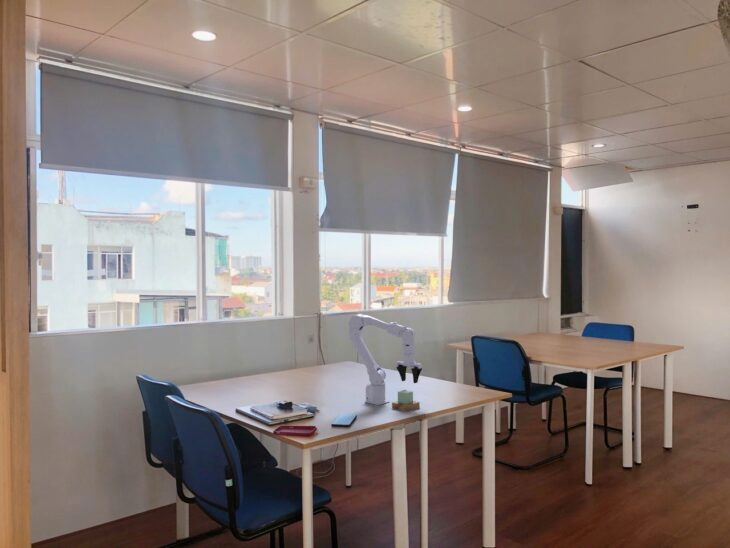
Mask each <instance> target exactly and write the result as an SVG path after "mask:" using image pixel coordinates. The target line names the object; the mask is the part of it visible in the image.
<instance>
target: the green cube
mask: <svg viewBox="0 0 730 548" xmlns="http://www.w3.org/2000/svg"><path fill="white" fill-rule="evenodd" d="M397 401H398V402H399V403H403V404H408V403H411V402H413V401H414V391H412V390H408V389H402V390H398V391H397Z"/></svg>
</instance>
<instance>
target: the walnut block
mask: <svg viewBox="0 0 730 548" xmlns="http://www.w3.org/2000/svg"><path fill="white" fill-rule="evenodd" d="M391 409H394V410H398V411H402V412H406V413H407V412H410V411H413V410H414V411H415V410H417V409H420V402H419V401H415V400H413V402H411V403H408V404H403V403H399V402H398V400H396V401H393V402H391Z"/></svg>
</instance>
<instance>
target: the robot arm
mask: <svg viewBox="0 0 730 548" xmlns="http://www.w3.org/2000/svg"><path fill="white" fill-rule="evenodd" d="M347 324H348V337H349V339H350V340H351V341H350V342H352V344H353V347H354V348H355V350H356V351H357V353H358V355H359V357H360V358H361V361H362V362H363V363H364V365H365V367H366V371H367V375H368V377H369V378H368V380H369V383H368V384H366V387H365V400H364V403H368V404H372V405H375V406H380V405H385V404H387V403H390V401H389V400H386V382H385V380H386V377H387V374H386V372H385V370H384V369H382V368H381V366H380V365H379V364H378V363H377V361H375V358H374V357H373V354H372V353H371V351H370V350H369V348H368V346H367V345H366V343H365V341H364V339H363V337H362V335H361V333H362V331H363V328H364V327H366V326H373V327H376V328H380V329H382V330H385V331H386V333H387V334H389V335H391V336H394V337H396V338H399V339H400V338H401V340H402V360H397V361H396V370H397V371H398V374H399V376H400V379H401V382H405V381H406V380H407V375H406V374H407V369H408V367H409V368H410V370H411V374H412V379H413V384H418V381H419V377H420V375H421V372H422V370H423V363H419V362H416V358H415V357H416V351H415V347H416V346H415V335H416V332H415V330H414V329H413V328H412V327H407V326H406V325H400V324H398V322H397V321H393V322H389V323H388V322H385V321H383V320H381V319H378V318H376V317H373V316H370V315H367V314H363V313H357V314H356V315H352V316H351V317H350V319H349V321H348V323H347Z"/></svg>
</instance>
